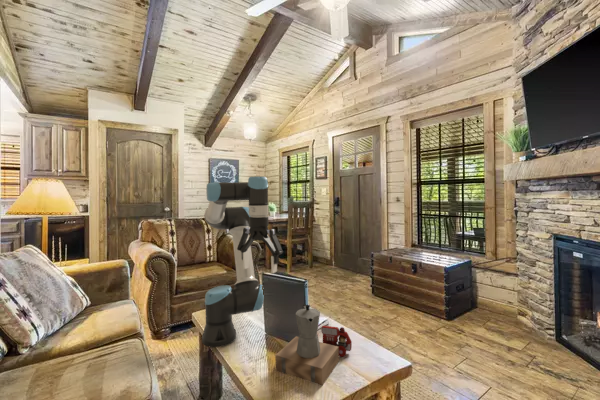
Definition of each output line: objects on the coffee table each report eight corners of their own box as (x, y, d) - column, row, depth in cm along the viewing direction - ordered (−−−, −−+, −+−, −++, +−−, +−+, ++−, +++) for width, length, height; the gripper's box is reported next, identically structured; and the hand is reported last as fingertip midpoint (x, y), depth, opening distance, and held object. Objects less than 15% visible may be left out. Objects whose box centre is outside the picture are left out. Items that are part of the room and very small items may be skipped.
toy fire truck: (350, 358, 118) (350, 332, 117) (320, 354, 121) (319, 329, 121) (352, 349, 124) (352, 325, 124) (323, 345, 128) (323, 322, 128)
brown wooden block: (275, 370, 110) (275, 355, 110) (296, 350, 124) (296, 336, 124) (322, 385, 101) (321, 368, 101) (338, 361, 116) (338, 346, 115)
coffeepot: (324, 360, 106) (323, 310, 106) (298, 363, 105) (297, 313, 104) (315, 339, 121) (315, 296, 121) (293, 341, 120) (292, 297, 119)
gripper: (227, 216, 117) (228, 268, 118) (280, 218, 106) (281, 276, 106) (239, 214, 124) (241, 264, 125) (291, 216, 112) (292, 271, 113)
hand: (259, 270), depth 116 cm, fingers open, 13 cm apart
